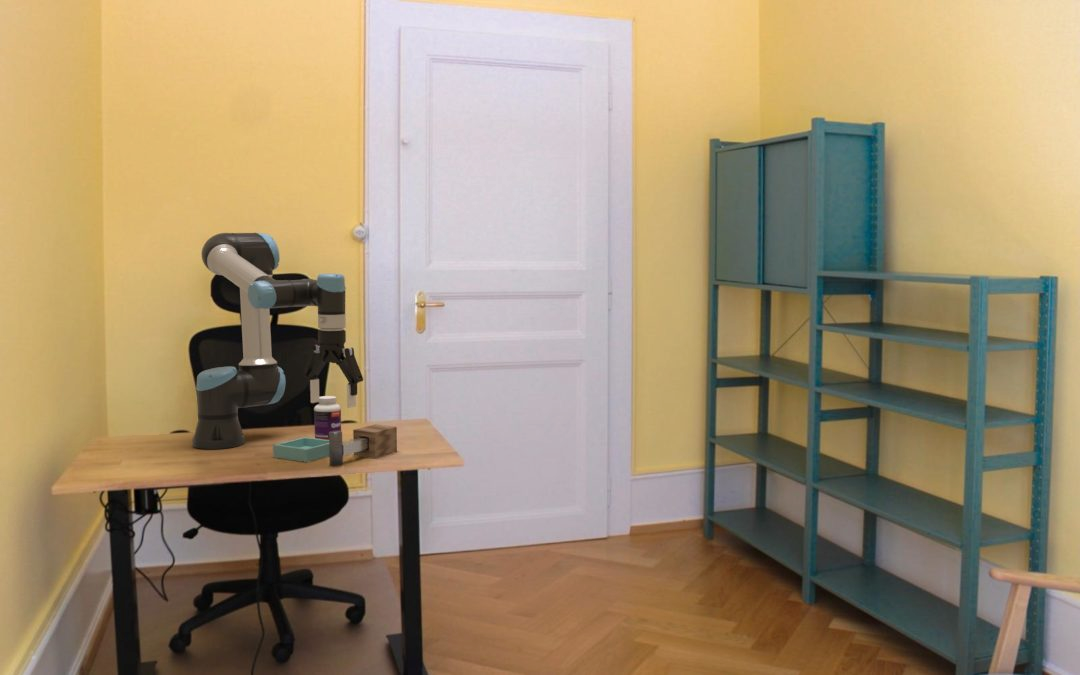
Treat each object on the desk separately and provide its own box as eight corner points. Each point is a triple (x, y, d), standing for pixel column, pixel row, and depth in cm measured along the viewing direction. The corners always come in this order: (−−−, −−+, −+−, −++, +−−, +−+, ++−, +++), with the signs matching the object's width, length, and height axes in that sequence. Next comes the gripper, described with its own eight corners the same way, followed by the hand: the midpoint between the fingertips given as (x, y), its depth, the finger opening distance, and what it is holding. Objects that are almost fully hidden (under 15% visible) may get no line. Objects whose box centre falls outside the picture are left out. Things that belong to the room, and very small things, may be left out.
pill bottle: (335, 446, 291) (334, 399, 290) (310, 445, 293) (309, 398, 291) (345, 441, 299) (344, 395, 298) (321, 440, 301) (320, 394, 299)
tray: (273, 457, 277) (272, 444, 276) (305, 448, 288) (304, 437, 288) (306, 462, 270) (306, 449, 270) (338, 453, 282) (337, 441, 281)
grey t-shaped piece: (336, 466, 264) (336, 433, 264) (326, 464, 266) (326, 432, 265) (377, 454, 279) (376, 423, 279) (367, 452, 281) (367, 422, 280)
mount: (375, 458, 275) (374, 432, 275) (353, 455, 279) (353, 429, 279) (397, 451, 284) (396, 426, 283) (375, 448, 288) (375, 424, 287)
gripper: (289, 327, 270) (290, 402, 272) (357, 333, 257) (358, 411, 259) (308, 325, 276) (309, 398, 278) (375, 330, 263) (376, 406, 266)
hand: (333, 404), depth 269 cm, fingers open, 13 cm apart
